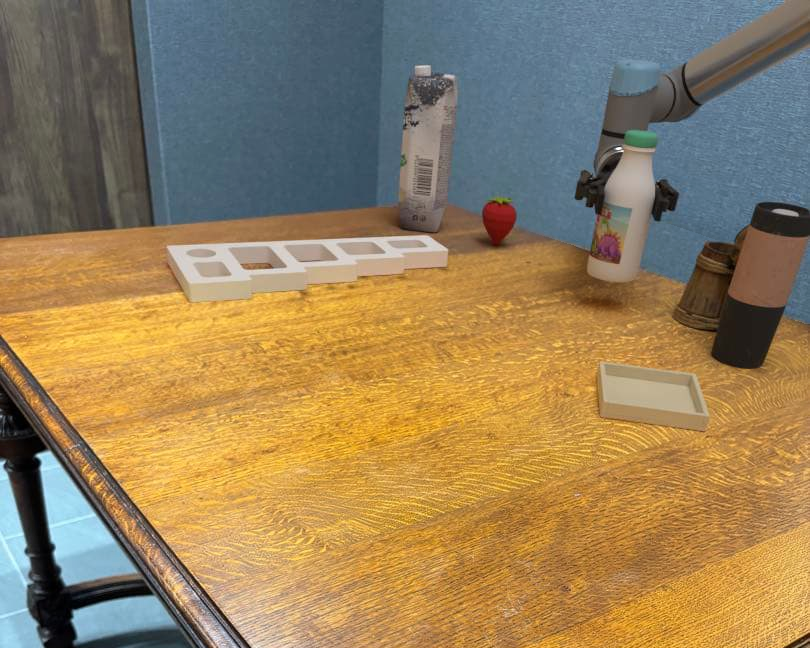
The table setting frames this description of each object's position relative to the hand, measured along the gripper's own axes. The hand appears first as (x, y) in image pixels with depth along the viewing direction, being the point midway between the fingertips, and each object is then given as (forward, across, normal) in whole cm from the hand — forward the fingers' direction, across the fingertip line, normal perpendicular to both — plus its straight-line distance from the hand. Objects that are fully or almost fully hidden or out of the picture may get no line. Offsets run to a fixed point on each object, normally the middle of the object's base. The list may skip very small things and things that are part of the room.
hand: (629, 207), depth 115 cm
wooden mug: (-2, +16, +16) cm, 23 cm away
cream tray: (+29, +4, +16) cm, 33 cm away
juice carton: (-39, -34, +16) cm, 54 cm away
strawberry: (-32, -19, +16) cm, 40 cm away
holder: (-3, -45, +16) cm, 48 cm away
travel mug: (+10, +18, +16) cm, 26 cm away
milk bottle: (-5, 0, +11) cm, 12 cm away
